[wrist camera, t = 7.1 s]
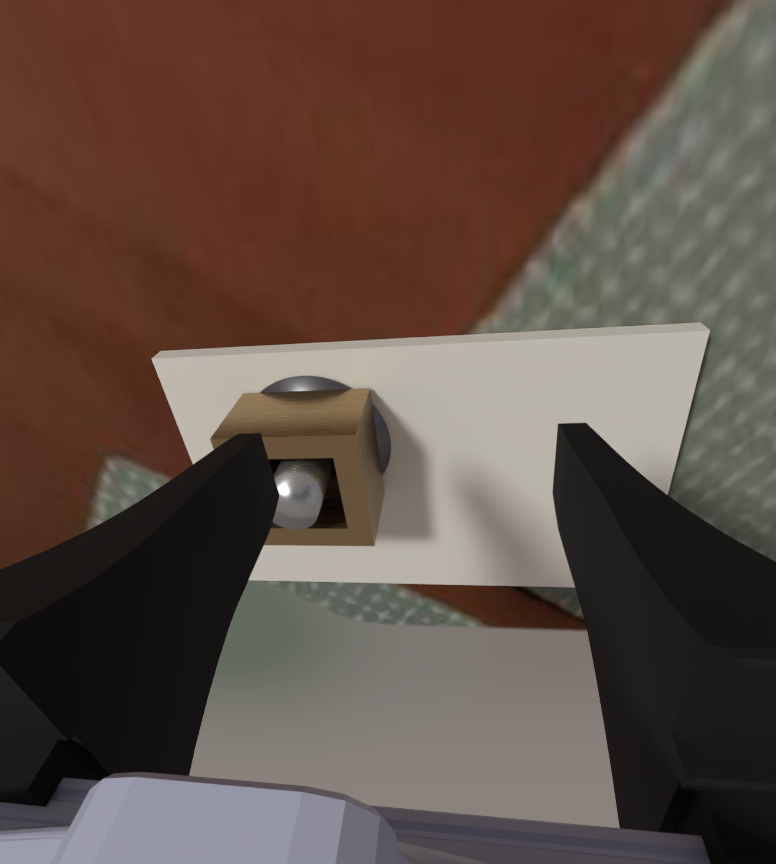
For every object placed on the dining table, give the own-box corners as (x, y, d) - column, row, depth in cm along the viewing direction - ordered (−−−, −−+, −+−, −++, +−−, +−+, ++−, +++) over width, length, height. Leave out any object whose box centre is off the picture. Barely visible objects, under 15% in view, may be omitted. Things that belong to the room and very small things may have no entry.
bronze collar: (369, 388, 21) (355, 434, 18) (384, 491, 24) (374, 546, 21) (242, 393, 22) (209, 438, 19) (272, 492, 25) (248, 545, 22)
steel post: (382, 372, 21) (365, 432, 17) (397, 498, 24) (387, 571, 21) (226, 379, 22) (178, 437, 18) (264, 499, 25) (230, 568, 22)
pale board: (701, 322, 19) (709, 330, 18) (639, 576, 26) (643, 589, 26) (160, 351, 22) (151, 358, 22) (243, 569, 30) (238, 579, 29)
